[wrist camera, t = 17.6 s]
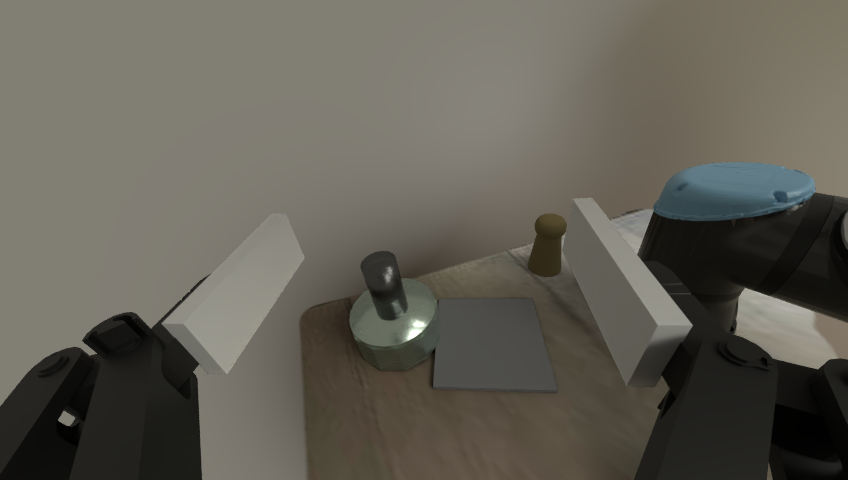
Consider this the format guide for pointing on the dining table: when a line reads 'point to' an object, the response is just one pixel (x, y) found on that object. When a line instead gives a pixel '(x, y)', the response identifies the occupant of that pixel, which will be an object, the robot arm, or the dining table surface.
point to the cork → (547, 245)
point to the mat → (492, 347)
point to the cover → (394, 316)
